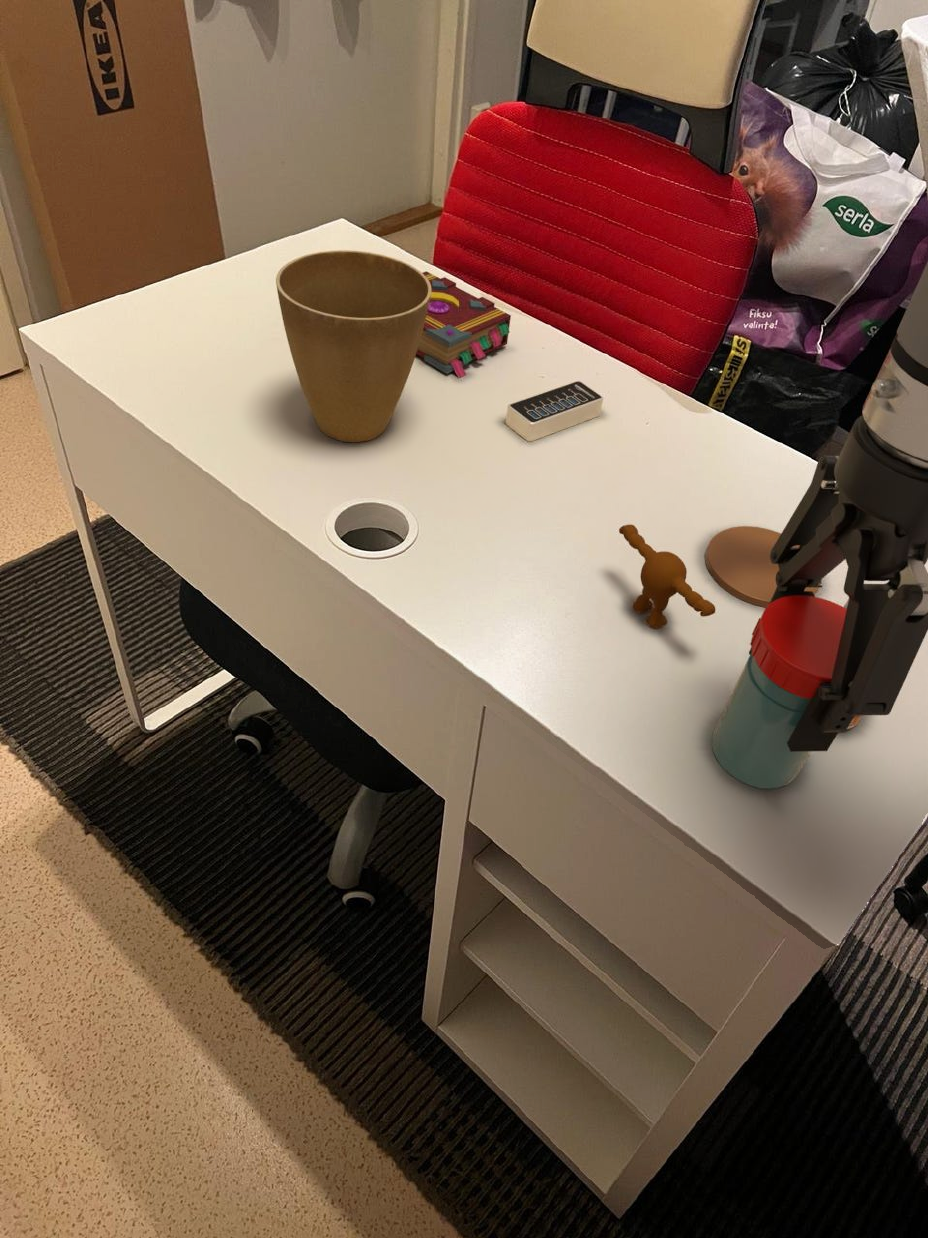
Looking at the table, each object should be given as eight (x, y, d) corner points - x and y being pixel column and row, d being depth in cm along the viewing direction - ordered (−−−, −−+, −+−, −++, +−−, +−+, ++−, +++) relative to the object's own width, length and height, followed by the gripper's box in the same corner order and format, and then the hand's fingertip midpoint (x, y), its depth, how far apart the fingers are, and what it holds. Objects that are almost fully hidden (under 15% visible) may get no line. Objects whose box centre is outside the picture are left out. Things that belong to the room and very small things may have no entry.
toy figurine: (708, 653, 78) (732, 597, 74) (675, 666, 77) (697, 609, 72) (627, 567, 85) (644, 511, 81) (595, 578, 84) (610, 521, 79)
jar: (818, 772, 70) (877, 680, 63) (747, 800, 68) (799, 708, 60) (762, 706, 75) (811, 613, 67) (694, 731, 72) (736, 636, 64)
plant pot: (394, 477, 92) (400, 332, 81) (260, 442, 94) (248, 295, 83) (439, 405, 102) (451, 267, 91) (318, 374, 104) (314, 236, 93)
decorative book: (424, 301, 119) (427, 264, 116) (515, 351, 112) (521, 313, 109) (360, 326, 113) (361, 288, 110) (452, 380, 106) (456, 341, 103)
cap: (880, 652, 64) (894, 629, 63) (846, 722, 59) (860, 699, 58) (773, 601, 67) (784, 578, 65) (732, 664, 62) (742, 641, 60)
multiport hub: (503, 422, 101) (506, 404, 99) (575, 396, 106) (579, 379, 104) (528, 442, 99) (532, 424, 97) (601, 415, 104) (605, 397, 102)
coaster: (842, 594, 86) (846, 588, 85) (749, 620, 82) (752, 613, 81) (772, 523, 92) (775, 517, 92) (683, 544, 89) (685, 537, 88)
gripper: (797, 342, 57) (698, 601, 73) (949, 558, 43) (785, 823, 58) (907, 347, 58) (786, 601, 74) (1093, 560, 43) (892, 820, 59)
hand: (786, 699), depth 66 cm, fingers closed on cap, 8 cm apart
